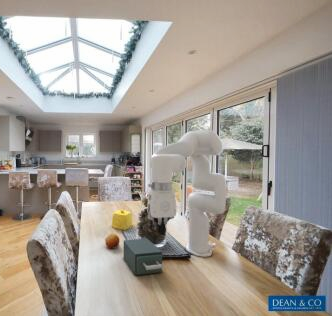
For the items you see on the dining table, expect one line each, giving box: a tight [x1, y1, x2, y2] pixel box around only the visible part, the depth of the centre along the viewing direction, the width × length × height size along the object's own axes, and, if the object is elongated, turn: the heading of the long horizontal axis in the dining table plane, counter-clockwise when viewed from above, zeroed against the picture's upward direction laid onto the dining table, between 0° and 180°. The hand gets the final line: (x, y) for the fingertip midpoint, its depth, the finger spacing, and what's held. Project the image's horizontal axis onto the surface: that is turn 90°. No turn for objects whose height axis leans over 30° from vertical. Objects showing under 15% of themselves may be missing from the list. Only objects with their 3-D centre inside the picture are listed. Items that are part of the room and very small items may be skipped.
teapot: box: [111, 209, 133, 231], centre depth 148 cm, size 20×12×12 cm, turn 150°
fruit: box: [104, 233, 120, 249], centre depth 115 cm, size 8×8×8 cm
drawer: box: [136, 254, 164, 276], centre depth 92 cm, size 18×11×7 cm, turn 12°
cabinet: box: [123, 238, 163, 276], centre depth 96 cm, size 15×13×9 cm
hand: (160, 233), depth 79 cm, fingers closed
